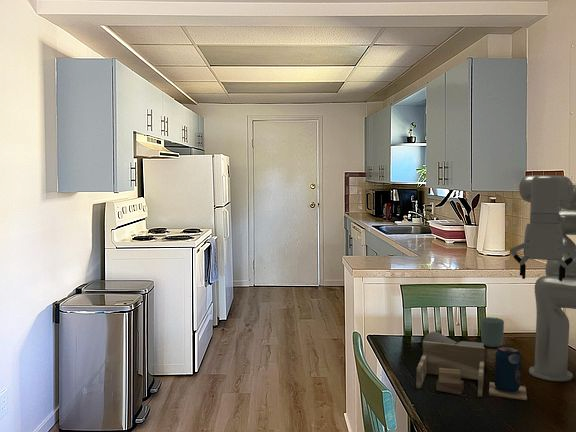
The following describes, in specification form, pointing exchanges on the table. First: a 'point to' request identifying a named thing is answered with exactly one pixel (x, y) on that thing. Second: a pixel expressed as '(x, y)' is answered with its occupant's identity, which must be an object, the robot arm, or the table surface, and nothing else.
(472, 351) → the rack
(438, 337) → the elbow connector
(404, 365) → the table surface
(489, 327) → the cup
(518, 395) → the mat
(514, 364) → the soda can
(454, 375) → the offcut oak
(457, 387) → the offcut walnut
